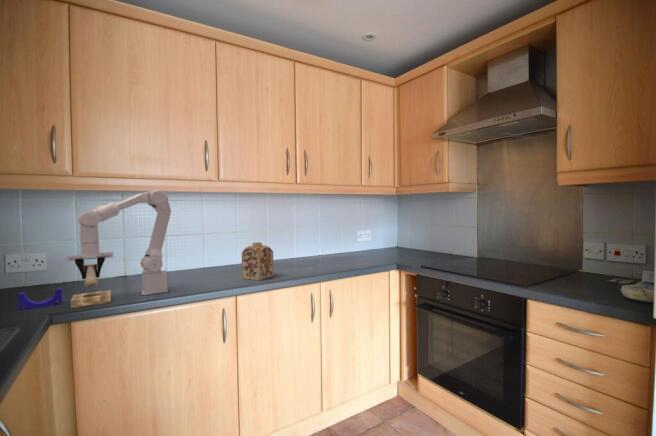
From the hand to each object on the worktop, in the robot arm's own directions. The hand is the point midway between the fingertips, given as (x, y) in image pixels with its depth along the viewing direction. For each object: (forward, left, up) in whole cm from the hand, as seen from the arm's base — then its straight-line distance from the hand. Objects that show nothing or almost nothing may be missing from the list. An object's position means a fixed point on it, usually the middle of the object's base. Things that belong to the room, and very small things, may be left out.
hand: (91, 277), depth 127 cm
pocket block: (0, 0, -10) cm, 10 cm away
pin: (0, 0, -3) cm, 3 cm away
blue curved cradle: (+16, -7, -10) cm, 20 cm away
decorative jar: (-69, -4, -10) cm, 70 cm away
